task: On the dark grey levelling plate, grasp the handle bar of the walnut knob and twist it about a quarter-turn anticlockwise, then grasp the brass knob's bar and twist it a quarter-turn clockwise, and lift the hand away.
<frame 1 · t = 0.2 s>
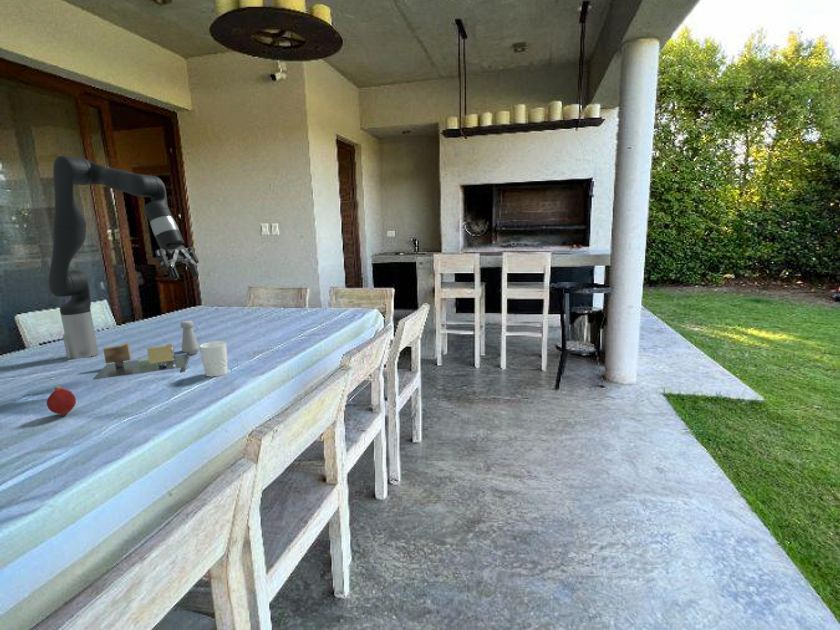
hand: (186, 277, 149), 31 cm above the table, tool tilted 20°, fingers open, 8 cm apart
level plate: (145, 369, 152), on the table
onion: (64, 415, 116), on the table
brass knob: (160, 356, 149), point 5 cm above the table, hinge at 0.0°
salt shaker: (191, 354, 170), on the table
white cup: (216, 374, 146), on the table
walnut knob: (117, 355, 151), point 5 cm above the table, hinge at 0.0°
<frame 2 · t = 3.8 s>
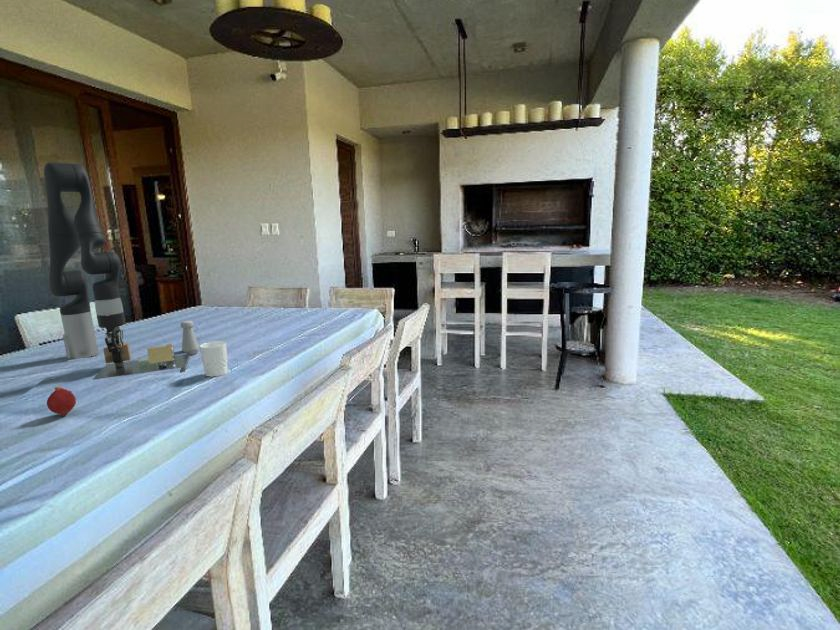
hand: (118, 361, 151), 3 cm above the table, tool pointing down, fingers closed on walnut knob, 2 cm apart
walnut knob: (117, 355, 151), point 5 cm above the table, hinge at 0.0°, touching gripper
everything else where it was.
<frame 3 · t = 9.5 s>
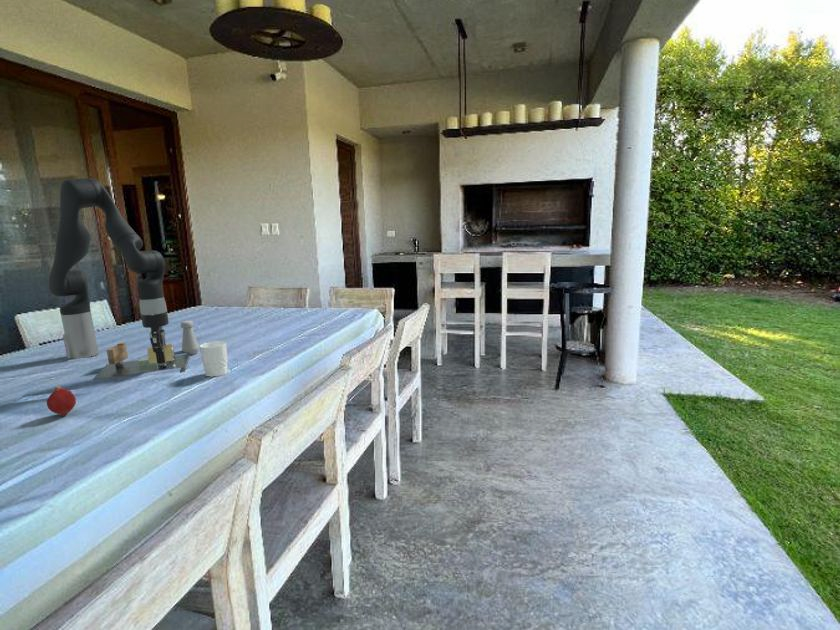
hand: (161, 361, 149), 3 cm above the table, tool pointing down, fingers closed on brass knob, 2 cm apart
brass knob: (160, 356, 149), point 5 cm above the table, hinge at 0.0°, touching gripper
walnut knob: (117, 355, 151), point 5 cm above the table, hinge at 69.7°
everything else where it was.
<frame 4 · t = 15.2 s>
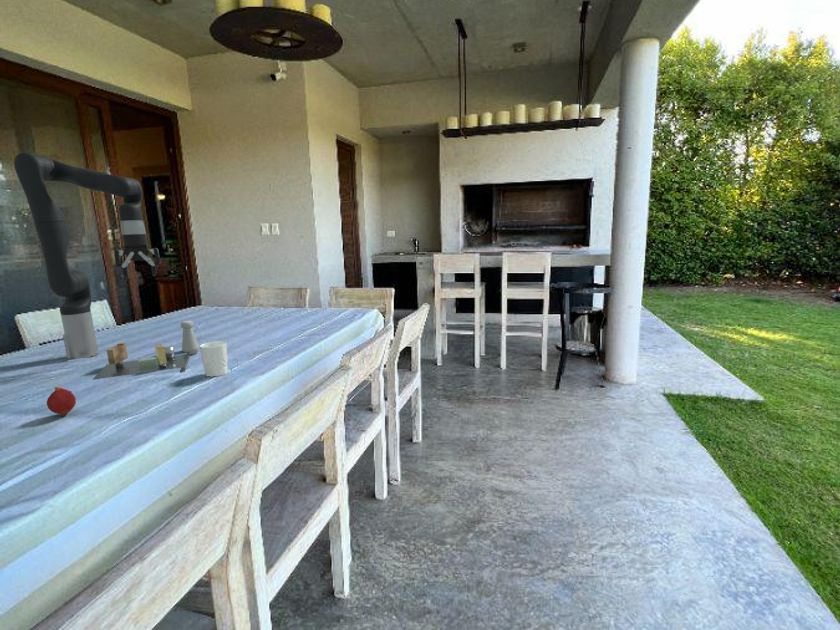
hand: (141, 276, 167), 30 cm above the table, tool pointing down, fingers open, 8 cm apart
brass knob: (160, 356, 149), point 5 cm above the table, hinge at -74.9°
everything else where it was.
at the end: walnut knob at +70° (first picture: +0°); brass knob at -75° (first picture: +0°); the gripper is holding nothing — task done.
